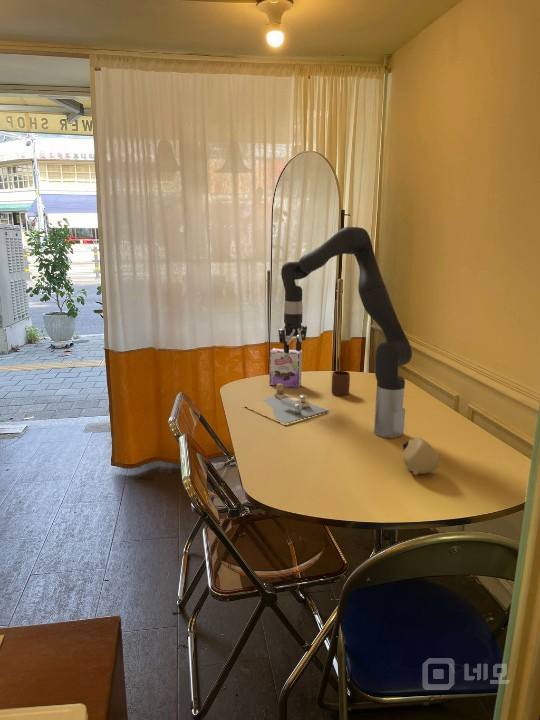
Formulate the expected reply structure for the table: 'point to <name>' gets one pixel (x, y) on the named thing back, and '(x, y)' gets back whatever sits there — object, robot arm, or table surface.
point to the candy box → (285, 368)
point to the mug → (340, 383)
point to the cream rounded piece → (420, 456)
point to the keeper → (295, 404)
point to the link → (281, 395)
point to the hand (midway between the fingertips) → (292, 351)
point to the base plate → (291, 410)
